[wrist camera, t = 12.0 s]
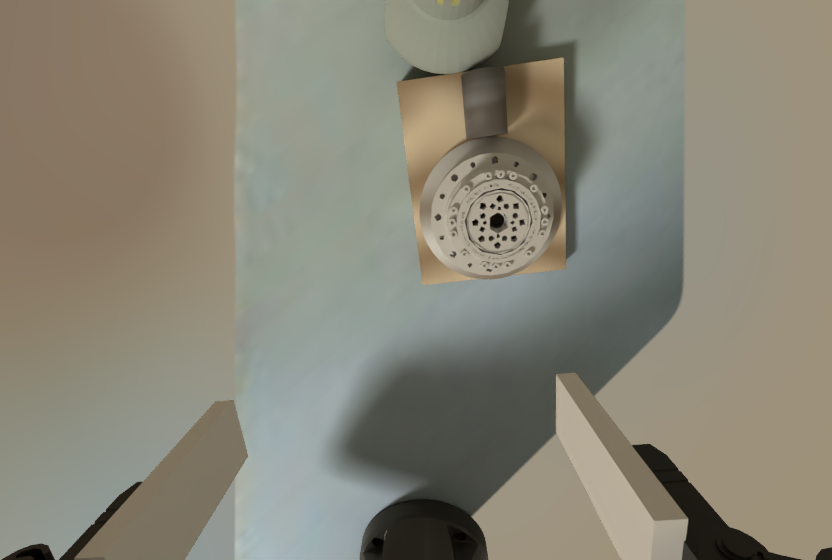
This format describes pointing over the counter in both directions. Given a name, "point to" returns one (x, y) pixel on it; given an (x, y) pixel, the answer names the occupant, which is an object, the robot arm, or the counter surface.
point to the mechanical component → (519, 203)
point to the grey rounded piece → (445, 32)
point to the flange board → (484, 146)
